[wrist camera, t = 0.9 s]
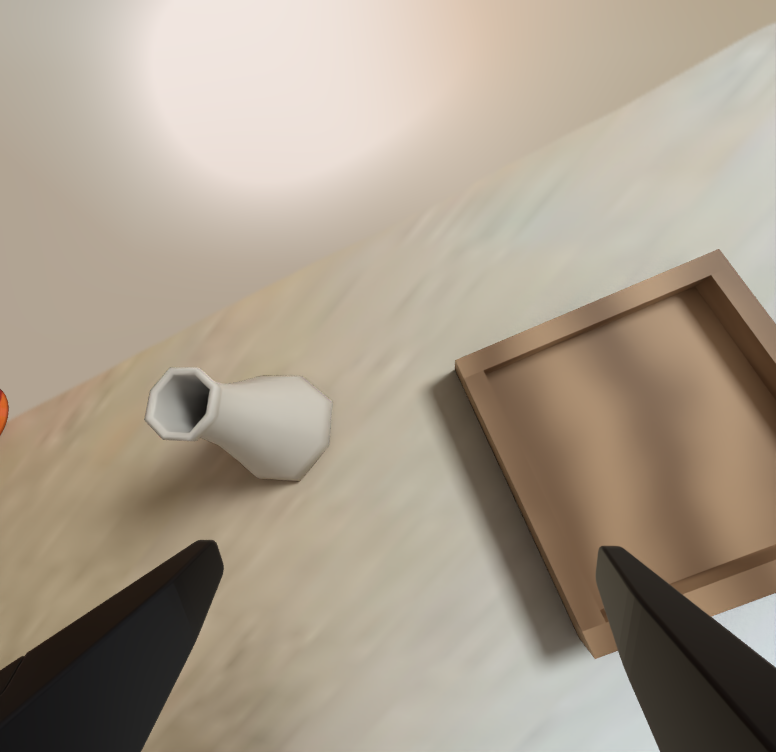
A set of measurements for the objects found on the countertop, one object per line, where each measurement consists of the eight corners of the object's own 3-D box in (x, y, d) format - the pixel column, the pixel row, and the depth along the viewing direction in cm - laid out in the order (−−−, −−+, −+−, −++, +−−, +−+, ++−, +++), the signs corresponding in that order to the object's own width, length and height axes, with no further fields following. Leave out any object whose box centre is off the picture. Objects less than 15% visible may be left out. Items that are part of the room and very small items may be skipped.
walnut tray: (579, 638, 20) (594, 659, 18) (454, 369, 24) (455, 360, 22) (879, 526, 19) (934, 534, 17) (694, 268, 23) (719, 248, 21)
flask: (308, 500, 24) (213, 524, 14) (215, 458, 25) (72, 454, 16) (351, 394, 25) (289, 349, 15) (259, 360, 26) (151, 301, 17)
